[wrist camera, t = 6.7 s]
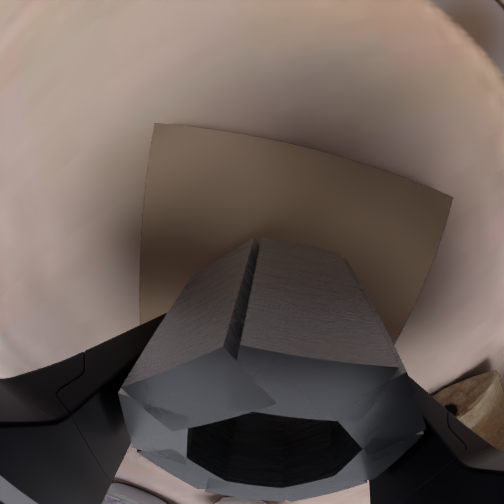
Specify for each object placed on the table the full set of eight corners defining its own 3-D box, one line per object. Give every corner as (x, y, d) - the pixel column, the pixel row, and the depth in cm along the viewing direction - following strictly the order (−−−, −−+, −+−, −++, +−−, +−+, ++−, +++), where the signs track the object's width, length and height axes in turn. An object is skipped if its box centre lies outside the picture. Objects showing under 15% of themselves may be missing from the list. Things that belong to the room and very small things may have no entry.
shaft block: (350, 389, 14) (366, 464, 9) (152, 350, 15) (112, 420, 10) (436, 191, 10) (517, 223, 5) (169, 126, 10) (90, 113, 5)
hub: (330, 399, 10) (342, 501, 6) (181, 372, 10) (141, 472, 6) (394, 266, 8) (477, 368, 3) (196, 221, 8) (104, 307, 4)
